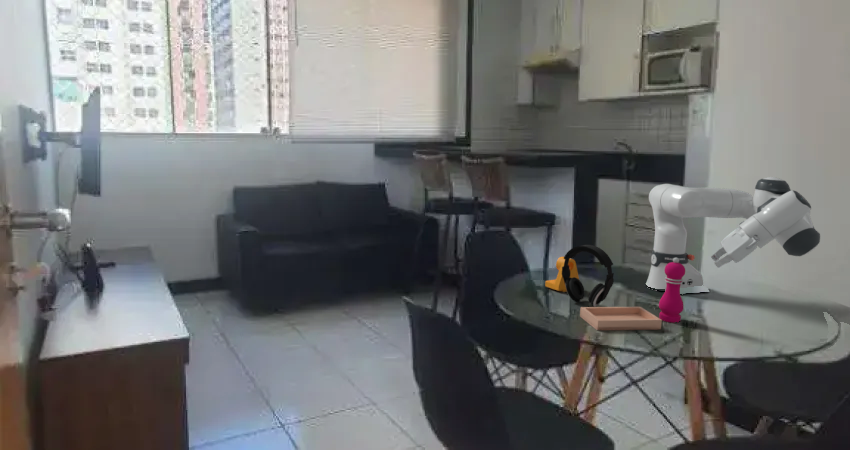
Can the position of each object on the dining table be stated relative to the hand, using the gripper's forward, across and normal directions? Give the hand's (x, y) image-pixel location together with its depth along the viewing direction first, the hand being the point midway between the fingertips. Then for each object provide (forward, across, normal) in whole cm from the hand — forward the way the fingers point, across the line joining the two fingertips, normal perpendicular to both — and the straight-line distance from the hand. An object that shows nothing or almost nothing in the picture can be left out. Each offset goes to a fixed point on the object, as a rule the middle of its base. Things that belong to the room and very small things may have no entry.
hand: (714, 262), depth 180 cm
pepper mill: (+22, 0, -7) cm, 23 cm away
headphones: (+40, +6, +12) cm, 43 cm away
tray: (+32, -10, +4) cm, 34 cm away
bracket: (+47, +22, +19) cm, 56 cm away
